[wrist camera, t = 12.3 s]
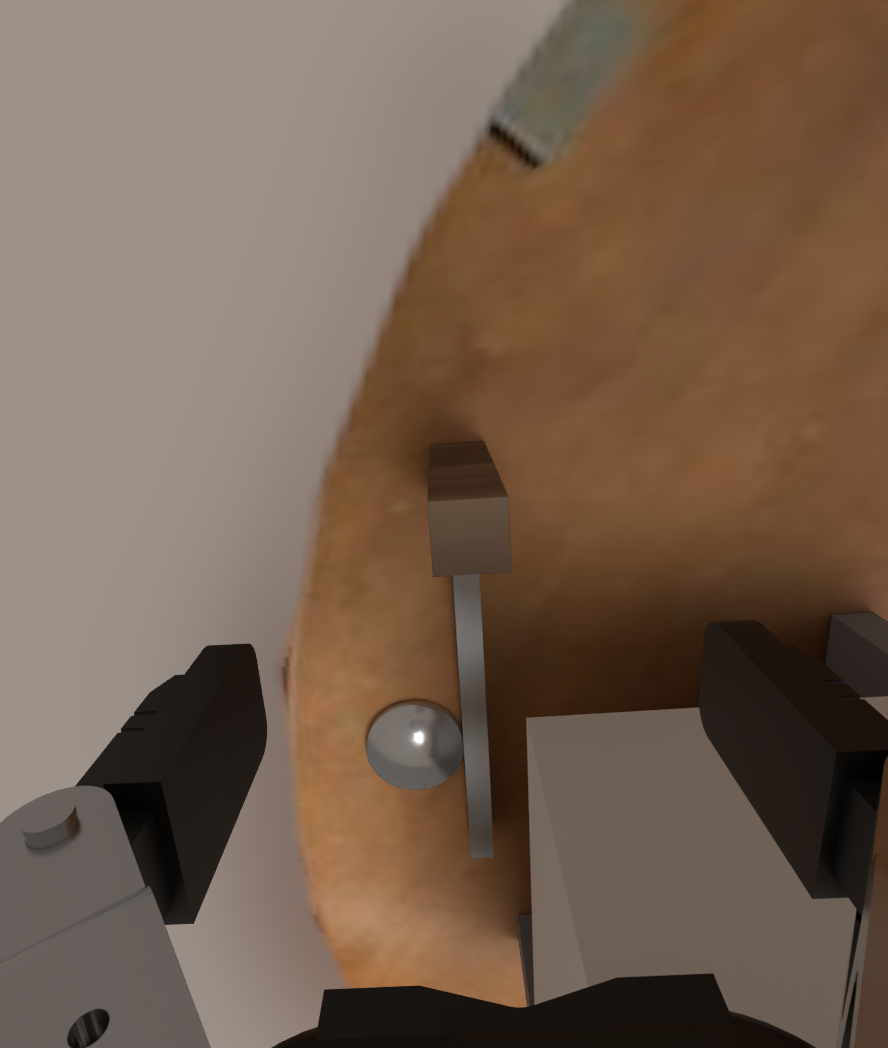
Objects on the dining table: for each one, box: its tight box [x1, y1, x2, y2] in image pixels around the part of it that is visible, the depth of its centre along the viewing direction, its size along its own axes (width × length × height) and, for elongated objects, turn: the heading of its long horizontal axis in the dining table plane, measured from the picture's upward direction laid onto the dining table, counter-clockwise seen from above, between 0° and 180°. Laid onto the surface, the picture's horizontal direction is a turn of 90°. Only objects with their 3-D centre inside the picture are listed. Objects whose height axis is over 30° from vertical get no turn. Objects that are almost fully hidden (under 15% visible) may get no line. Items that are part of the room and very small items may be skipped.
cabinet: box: [518, 612, 888, 1048], centre depth 25 cm, size 20×19×19 cm
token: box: [366, 700, 464, 790], centre depth 32 cm, size 5×5×1 cm
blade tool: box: [428, 441, 511, 859], centre depth 26 cm, size 21×2×10 cm, turn 4°
